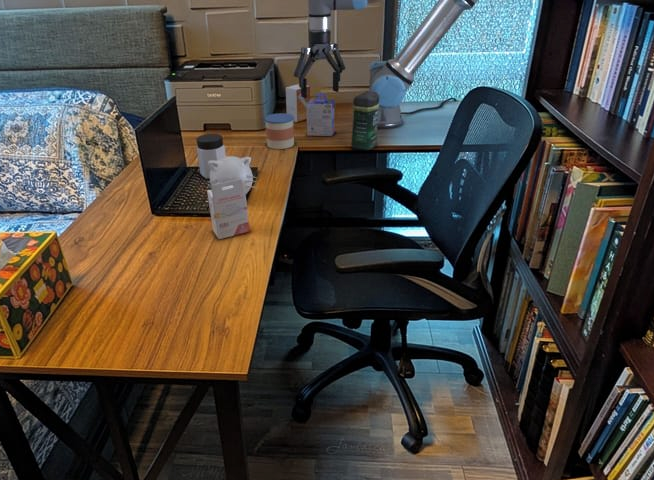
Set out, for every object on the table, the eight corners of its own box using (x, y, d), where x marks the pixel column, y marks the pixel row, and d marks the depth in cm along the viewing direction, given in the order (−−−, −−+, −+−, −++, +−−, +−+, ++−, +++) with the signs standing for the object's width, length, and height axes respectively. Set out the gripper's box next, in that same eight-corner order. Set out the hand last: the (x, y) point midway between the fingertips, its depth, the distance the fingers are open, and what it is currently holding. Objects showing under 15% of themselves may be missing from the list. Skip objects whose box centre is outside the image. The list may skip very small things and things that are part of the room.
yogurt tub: (286, 137, 188) (285, 111, 183) (300, 145, 180) (299, 118, 175) (261, 143, 184) (259, 116, 179) (274, 151, 177) (273, 123, 171)
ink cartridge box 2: (334, 132, 191) (334, 93, 183) (332, 136, 187) (333, 97, 179) (309, 131, 193) (308, 93, 185) (306, 136, 189) (306, 96, 181)
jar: (229, 168, 165) (225, 132, 158) (226, 178, 158) (222, 141, 151) (202, 169, 165) (197, 133, 159) (198, 179, 158) (192, 142, 152)
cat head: (256, 185, 152) (252, 146, 146) (261, 203, 141) (258, 162, 135) (206, 191, 150) (201, 152, 144) (208, 209, 140) (202, 168, 133)
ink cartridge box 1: (243, 224, 132) (238, 171, 124) (250, 232, 128) (244, 178, 120) (212, 231, 129) (204, 178, 121) (218, 240, 125) (210, 185, 117)
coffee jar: (369, 152, 171) (372, 97, 161) (348, 149, 175) (349, 95, 165) (380, 144, 178) (383, 90, 168) (359, 141, 182) (361, 88, 171)
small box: (297, 122, 203) (296, 89, 196) (286, 119, 207) (285, 87, 200) (311, 117, 208) (310, 85, 201) (300, 115, 212) (299, 83, 205)
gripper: (343, 25, 178) (342, 86, 189) (282, 33, 168) (285, 97, 179) (356, 27, 172) (354, 90, 184) (293, 35, 162) (295, 102, 174)
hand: (320, 94), depth 182 cm, fingers open, 13 cm apart
